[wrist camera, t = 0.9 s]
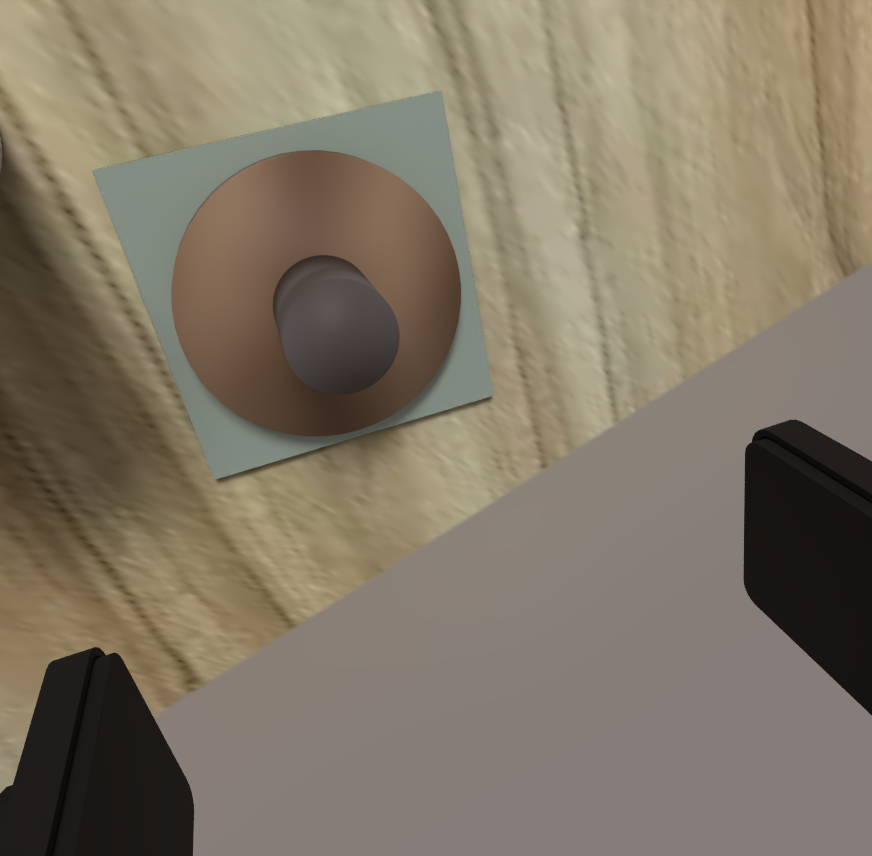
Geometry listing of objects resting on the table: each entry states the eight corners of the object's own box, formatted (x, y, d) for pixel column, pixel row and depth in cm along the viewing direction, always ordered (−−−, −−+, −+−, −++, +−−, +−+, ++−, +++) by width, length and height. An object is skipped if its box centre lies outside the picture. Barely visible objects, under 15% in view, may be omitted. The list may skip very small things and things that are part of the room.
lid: (424, 119, 25) (470, 125, 20) (473, 383, 29) (519, 435, 25) (125, 190, 23) (106, 213, 19) (227, 458, 28) (231, 527, 23)
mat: (438, 91, 25) (441, 91, 24) (490, 391, 30) (493, 395, 30) (94, 169, 23) (92, 171, 23) (214, 475, 28) (214, 479, 28)
